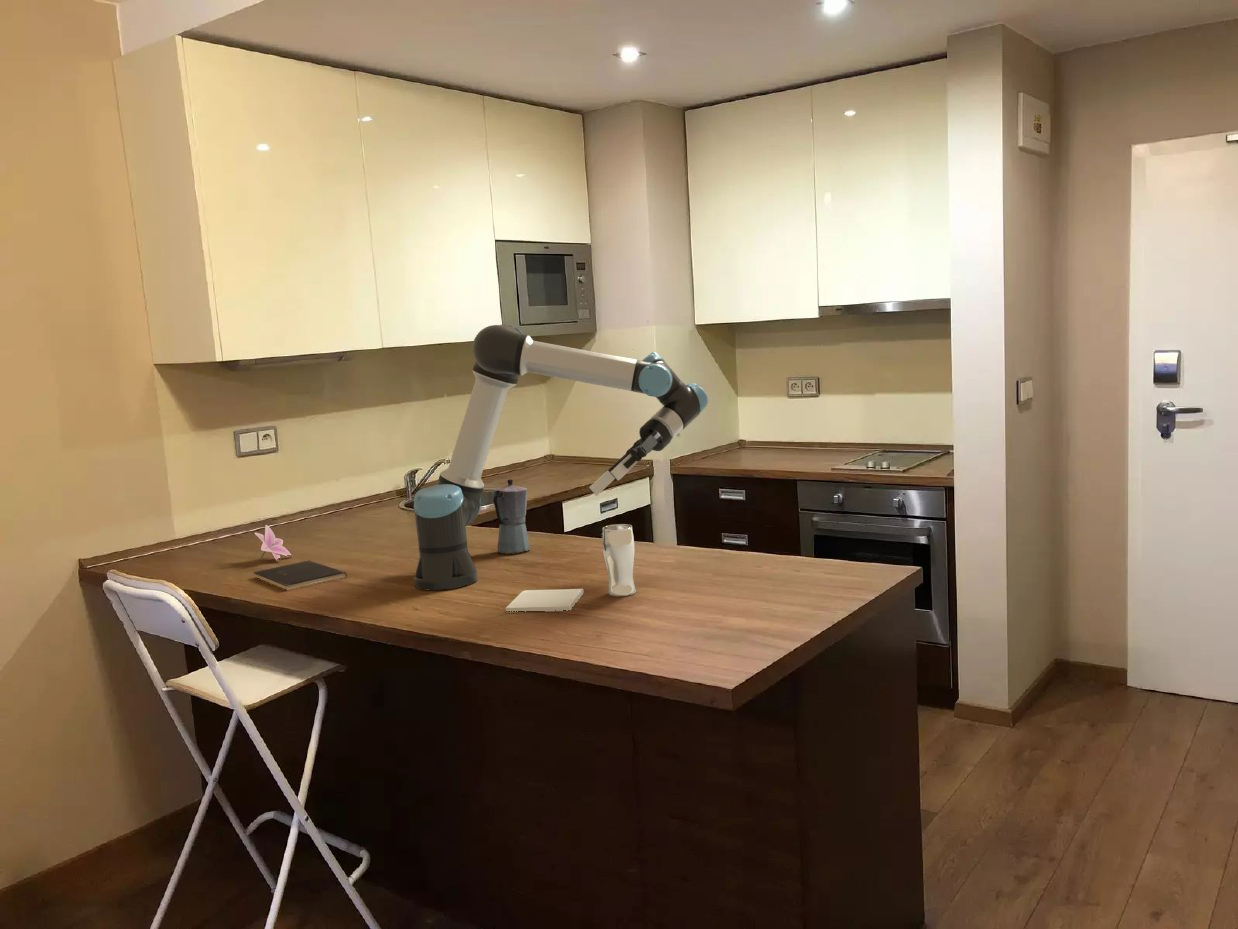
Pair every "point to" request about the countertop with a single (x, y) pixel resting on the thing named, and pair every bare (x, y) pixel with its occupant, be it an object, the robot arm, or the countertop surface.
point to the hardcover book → (299, 574)
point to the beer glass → (619, 559)
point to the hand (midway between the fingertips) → (603, 484)
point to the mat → (545, 600)
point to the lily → (272, 544)
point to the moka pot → (511, 518)
